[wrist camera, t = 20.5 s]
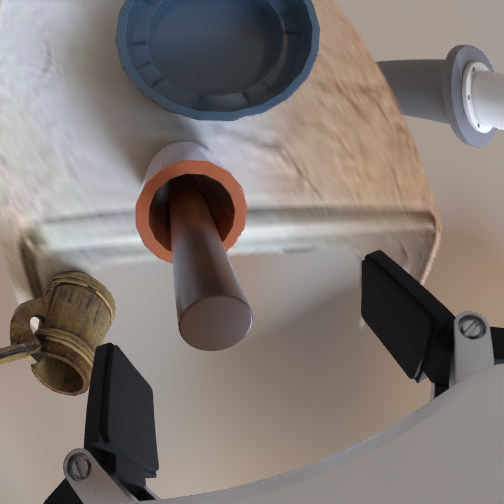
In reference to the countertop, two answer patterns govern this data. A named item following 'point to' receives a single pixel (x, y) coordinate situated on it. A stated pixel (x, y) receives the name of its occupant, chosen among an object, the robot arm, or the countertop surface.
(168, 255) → the holder
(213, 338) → the stick
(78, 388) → the wooden mug
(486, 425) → the robot arm
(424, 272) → the countertop surface
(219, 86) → the bowl
